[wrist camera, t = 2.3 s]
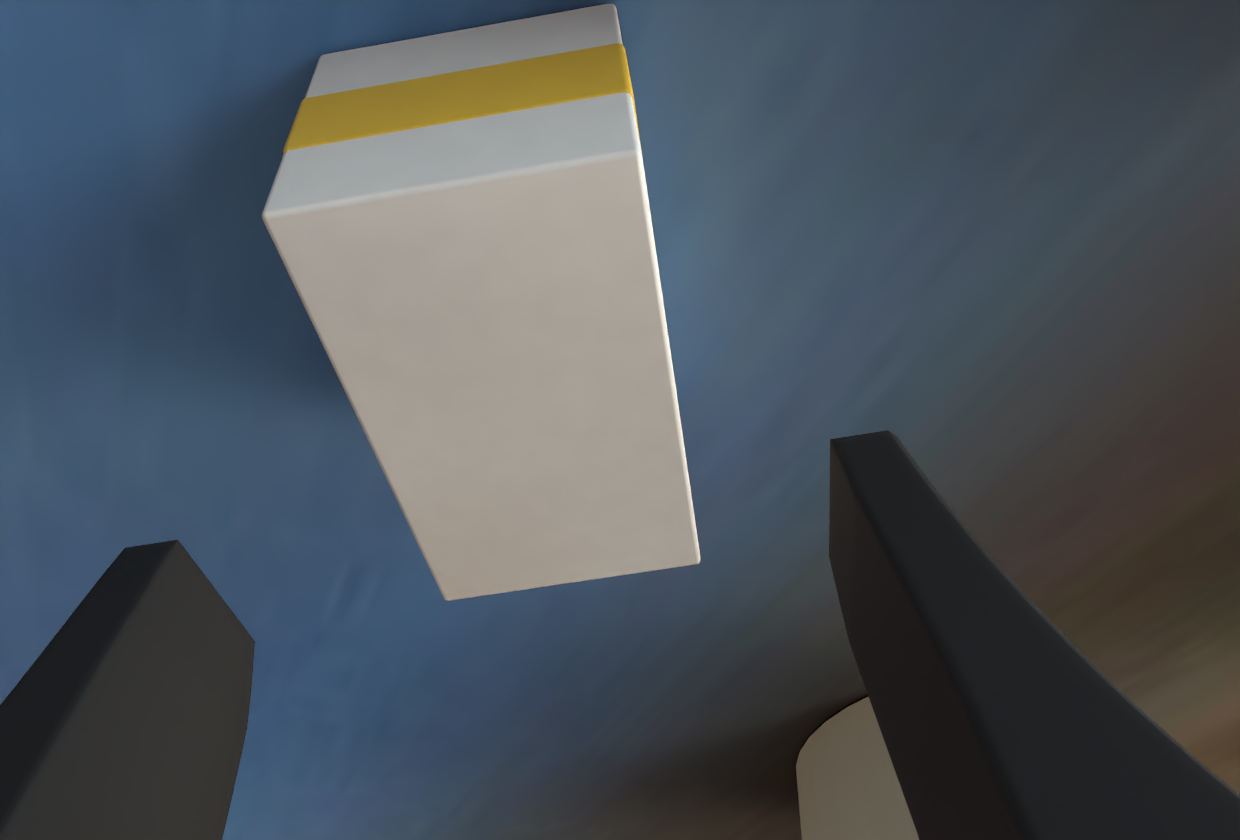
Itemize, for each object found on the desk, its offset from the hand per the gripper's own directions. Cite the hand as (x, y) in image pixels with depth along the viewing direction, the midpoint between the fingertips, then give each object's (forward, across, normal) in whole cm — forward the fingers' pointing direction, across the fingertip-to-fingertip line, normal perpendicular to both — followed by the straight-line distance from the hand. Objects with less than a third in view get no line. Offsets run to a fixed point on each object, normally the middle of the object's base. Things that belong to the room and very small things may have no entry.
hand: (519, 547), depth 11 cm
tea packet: (+6, 0, 0) cm, 6 cm away
